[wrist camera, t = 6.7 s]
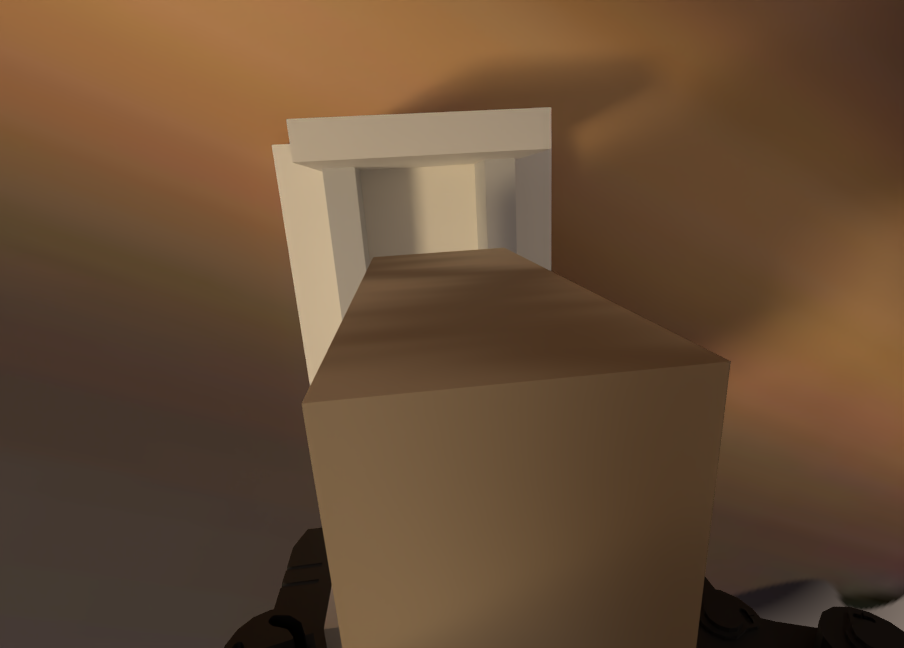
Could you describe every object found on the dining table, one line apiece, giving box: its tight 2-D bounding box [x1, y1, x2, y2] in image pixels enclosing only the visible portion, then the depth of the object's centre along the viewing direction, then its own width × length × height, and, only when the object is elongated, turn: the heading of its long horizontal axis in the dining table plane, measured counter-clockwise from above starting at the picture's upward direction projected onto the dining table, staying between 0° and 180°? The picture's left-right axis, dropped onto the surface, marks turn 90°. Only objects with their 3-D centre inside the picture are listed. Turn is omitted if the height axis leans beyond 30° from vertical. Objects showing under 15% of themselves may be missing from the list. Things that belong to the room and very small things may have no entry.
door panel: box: [302, 248, 731, 648], centre depth 11 cm, size 4×12×10 cm, turn 3°
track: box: [272, 107, 552, 385], centre depth 20 cm, size 12×20×7 cm, turn 3°
